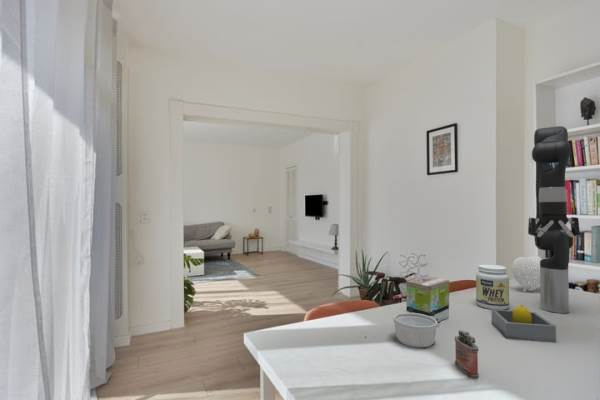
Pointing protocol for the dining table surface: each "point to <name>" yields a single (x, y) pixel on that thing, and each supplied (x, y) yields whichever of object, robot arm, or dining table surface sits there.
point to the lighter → (466, 354)
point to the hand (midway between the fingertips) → (553, 247)
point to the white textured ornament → (527, 272)
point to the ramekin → (415, 329)
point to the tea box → (428, 297)
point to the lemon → (522, 315)
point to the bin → (524, 327)
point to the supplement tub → (492, 287)
